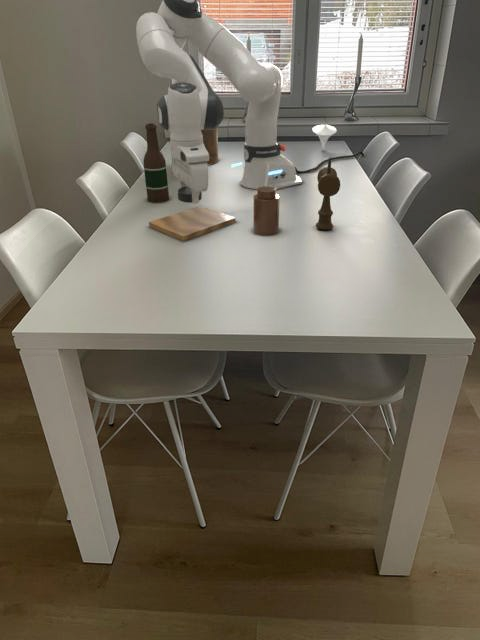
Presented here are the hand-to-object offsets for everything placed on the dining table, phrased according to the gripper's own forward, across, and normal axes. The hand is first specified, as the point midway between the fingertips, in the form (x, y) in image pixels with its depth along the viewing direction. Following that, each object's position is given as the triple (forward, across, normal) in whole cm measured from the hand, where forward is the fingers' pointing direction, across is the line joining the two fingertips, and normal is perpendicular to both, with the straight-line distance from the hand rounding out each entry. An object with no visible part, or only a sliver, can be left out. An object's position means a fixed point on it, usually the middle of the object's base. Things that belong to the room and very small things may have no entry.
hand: (190, 198), depth 141 cm
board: (+8, 0, 0) cm, 8 cm away
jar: (+8, +14, +17) cm, 24 cm away
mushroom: (+8, -61, +86) cm, 106 cm away
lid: (-2, 0, 0) cm, 2 cm away
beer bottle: (+8, -28, -2) cm, 29 cm away
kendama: (+8, +20, +33) cm, 40 cm away
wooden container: (+8, -70, +30) cm, 76 cm away
